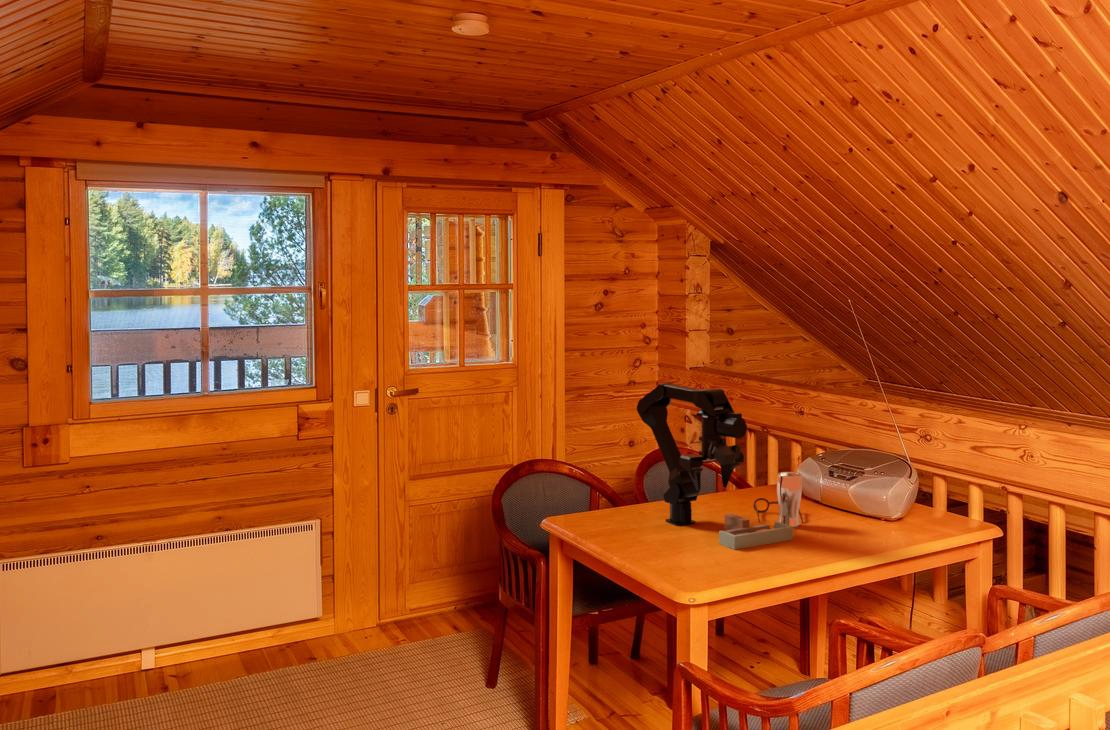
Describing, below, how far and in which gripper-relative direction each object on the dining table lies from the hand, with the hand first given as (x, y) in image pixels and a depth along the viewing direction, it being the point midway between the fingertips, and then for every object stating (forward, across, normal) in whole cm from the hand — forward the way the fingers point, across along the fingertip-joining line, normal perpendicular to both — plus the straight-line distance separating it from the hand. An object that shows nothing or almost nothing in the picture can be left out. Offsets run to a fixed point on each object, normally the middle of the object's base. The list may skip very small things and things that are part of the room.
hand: (711, 489), depth 278 cm
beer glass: (+12, +23, -6) cm, 27 cm away
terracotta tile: (+12, +8, -14) cm, 20 cm away
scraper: (+12, +4, -7) cm, 15 cm away
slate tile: (+12, 0, -14) cm, 19 cm away
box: (+12, +4, -15) cm, 19 cm away
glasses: (+13, +26, +3) cm, 29 cm away
